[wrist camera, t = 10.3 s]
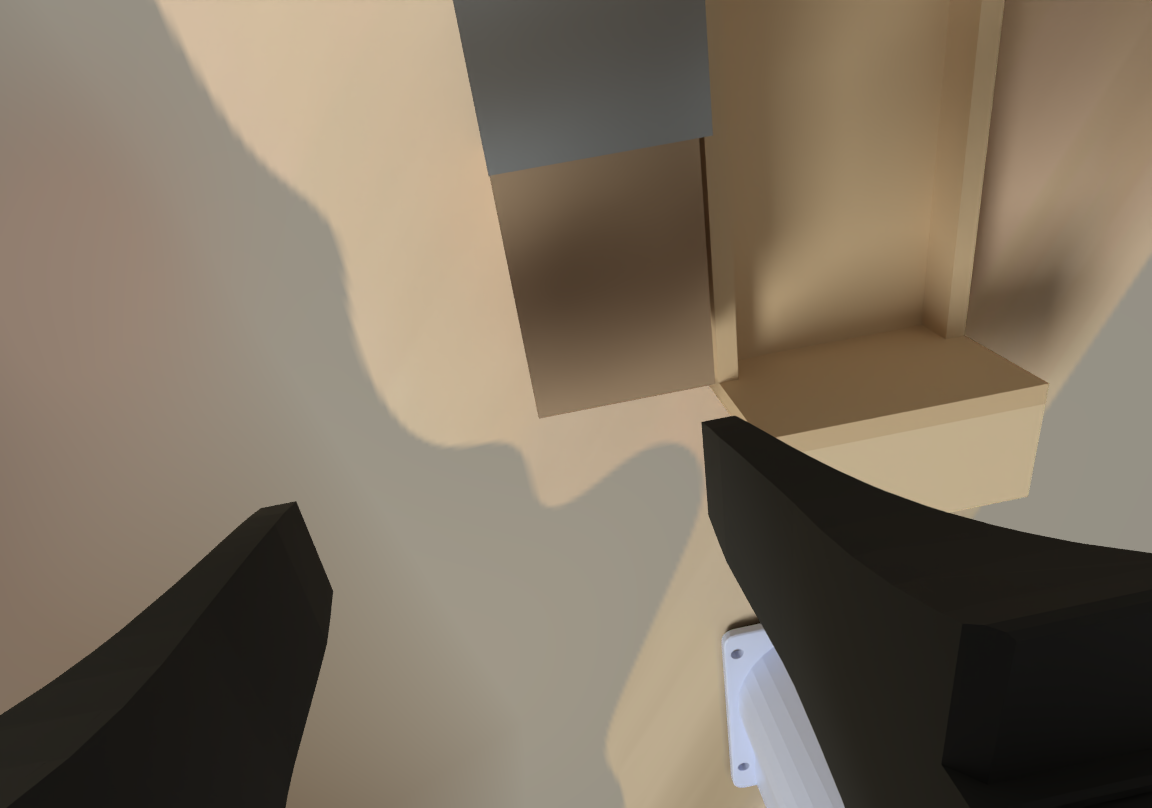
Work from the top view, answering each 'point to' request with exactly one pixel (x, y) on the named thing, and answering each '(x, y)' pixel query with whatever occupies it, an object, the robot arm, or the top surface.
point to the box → (598, 188)
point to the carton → (860, 242)
